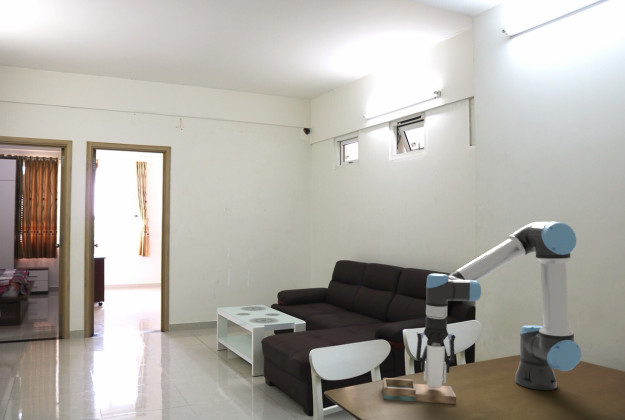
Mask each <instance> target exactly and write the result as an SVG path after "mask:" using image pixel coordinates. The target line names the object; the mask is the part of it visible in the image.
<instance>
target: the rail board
mask: <svg viewBox="0 0 625 420" xmlns="http://www.w3.org/2000/svg"><path fill="white" fill-rule="evenodd" d="M382 393H383V400H390V401H392V400H393V401H404V402H405V401H406V402H423V403H436V404H452V405H453V404H454V405H456V404H457V395H456V394H455V392H454V389H453V388H452V386H450V385H442V387H441V388H432V387H429V386H428V385H427V384H424V383H423V384H421V383H414V380H413V379H409V378H408V379H407V378H406V379H404V378H394V377H393V378H392V377H391V378H390V377H389V378H388V377H383V378H382Z"/></svg>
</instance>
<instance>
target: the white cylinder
mask: <svg viewBox="0 0 625 420" xmlns="http://www.w3.org/2000/svg"><path fill="white" fill-rule="evenodd" d="M425 346H426V347H427V358H426V363H427V382H426V385H428V386H429V387H432V388H441V387H442V386H443V370H444V362H445V348H446V345H445V346H442V347H441V345H440V343H432V345H431V346H429V345H427V343H426V344H425Z"/></svg>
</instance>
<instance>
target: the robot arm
mask: <svg viewBox="0 0 625 420" xmlns="http://www.w3.org/2000/svg"><path fill="white" fill-rule="evenodd" d="M576 246H577V236H576V233H575V231H574V229H573V228H572V227H571V226H569V225H568V224H566V223H564V222H559V221H534V222H531V223H528V224H527V225H525V226H523V227H521V228H519V229H518V230H515V232H513V233H512V234H510V235H508V236H507V239H506V240H504V241H503V242H502V243H500V244H498V245H497V246H495V247H493V248H491V249H490V250H488V251H487V252H485V253H484V254H482V255H480V256H479V257H476V258H475V259H473V260H471V261H470V262H469V263H468V262H467V264H465V265H463V266H462V267H460V268H458V269H457V270H455V271H453V272H452V273H450V274H443V273H430V274H428V275H427V276H426V285H425V288H426V290H425V291H426V292H425V293H426V294H425V295H426V296H425V297H426V301H425V304H426V305H425V315H426V316H425V324H424V325H425V328H424V330H423V331H420V332H419V331H417V332H416V336H417V342H416V343H417V344H416V354H415V358H416V361H418V362H420V370H421V372H423V381H424V382H426V383H427V363H426V358H427V347H426V345H425V347H424V350H423V353H422V343H423V338H424V336H425V337H426V338H427V341H426V344H427V345H429V346H431V345H432V343H440V345H441V347H442V346H445V361H444V370H443V379H442V383H443V384H446V383H447V374H449V373H450V364H454V363H455V362H456V359H455V358H456V356H455V340H456V335H455V334H454V333H450V332H448V319H447V317H448V301H450V302H451V301H452V302H453V301H454V302H455V301H456V302H457V301H458V302H460V301H461V302H477V301H478V300H480V298H481V295H482V286H481V284H480V282H479V280H481V279H483V278H485V277H486V276H489V275H490V274H491V273H493V272H495V271H496V270H498V269H500V268H501V267H503V266H505V265H506V264H508V263H510V262H511V261H513V260H514V259H516V258H518V257H525V256H527V255H528V254H530V253H534V252H535V259H536V260H537V261H539V262H540V278H541V279H540V282H541V303H542V304H541V305H542V325H532V324H531V325H530V324H529V325H527V324H526V325H522V327H521V328H520V335H519V336H520V341H519V342H520V344H519V345H520V350H519V351H520V352H519V355H520V356H519V364H518V366H517V367H518V368H517V369H516V372H515V374H514V375H515V376H514V381H515V383H516V384H518V385H519V386H521V387H525V388H527V389H531V390H537V391H539V390H540V391H553V390H555V389H557V388H558V385H557V384H558V382H557V381H558V380H557V378H556V375H555V372H554V370H557V371H562V372H568V371H571V370H573V369H574V368H576V366H577V365H578V364H579V363H580V362H581V358H582V350H581V349H582V348H581V347H580V345H579V344H578V343H577V342H575V333H574V331H573V330H572V329H571V328H570V325H569V324H570V322H569V319H570V318H569V300H568V299H569V298H568V279H567V278H568V277H567V275H568V274H567V262H568V261H569V260H570V259H571V252H572V251H574V248H576ZM447 337H448V340H449V343H448V344H449V356H448V352H447V349H446V345H445V342H444V340H445V339H446V338H447ZM421 353H422V355H421Z"/></svg>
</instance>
